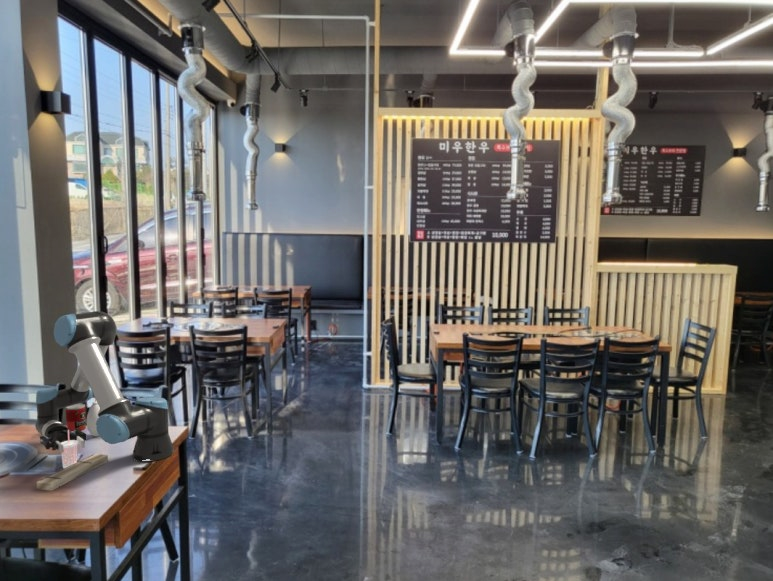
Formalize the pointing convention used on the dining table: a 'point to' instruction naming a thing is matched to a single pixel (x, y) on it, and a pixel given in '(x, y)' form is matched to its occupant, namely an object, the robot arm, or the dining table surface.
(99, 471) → the dining table surface
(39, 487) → the maple strip
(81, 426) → the canned food
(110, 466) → the dining table surface
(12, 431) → the dining table surface
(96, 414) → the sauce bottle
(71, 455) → the beverage cup
